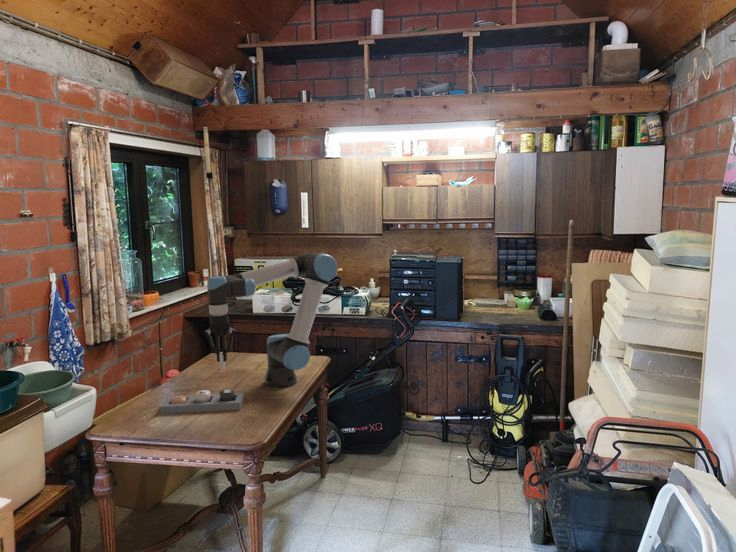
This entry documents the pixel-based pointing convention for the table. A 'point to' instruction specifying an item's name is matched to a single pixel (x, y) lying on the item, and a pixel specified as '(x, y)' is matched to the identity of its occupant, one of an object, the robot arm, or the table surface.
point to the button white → (203, 396)
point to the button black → (227, 395)
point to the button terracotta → (178, 400)
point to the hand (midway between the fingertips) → (222, 368)
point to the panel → (202, 404)
